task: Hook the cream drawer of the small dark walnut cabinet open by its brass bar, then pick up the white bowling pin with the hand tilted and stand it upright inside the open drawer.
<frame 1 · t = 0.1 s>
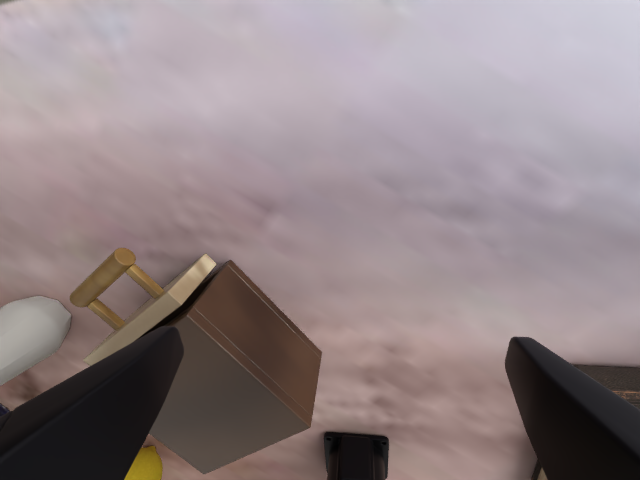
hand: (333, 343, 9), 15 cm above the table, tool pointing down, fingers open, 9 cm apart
white bowling pin: (53, 312, 30), on the table
lemon: (154, 444, 38), on the table
cabinet: (233, 337, 29), on the table
drawer: (177, 333, 24), point 4 cm above the table, slide at 0.5 cm
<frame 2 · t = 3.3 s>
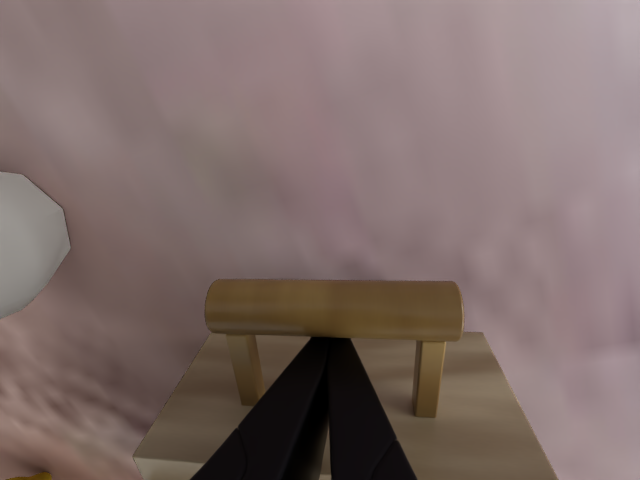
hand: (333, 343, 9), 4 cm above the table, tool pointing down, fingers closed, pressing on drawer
white bowling pin: (28, 219, 13), on the table
lemon: (51, 470, 22), on the table
drawer: (340, 448, 11), point 4 cm above the table, slide at 0.9 cm, touching gripper
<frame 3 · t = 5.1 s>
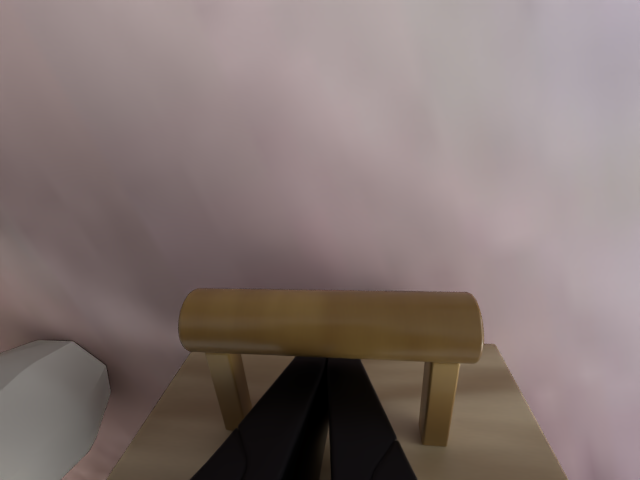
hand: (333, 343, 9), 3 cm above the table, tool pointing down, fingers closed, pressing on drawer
white bowling pin: (75, 368, 15), on the table
drawer: (338, 473, 10), point 4 cm above the table, slide at 8.7 cm, touching gripper
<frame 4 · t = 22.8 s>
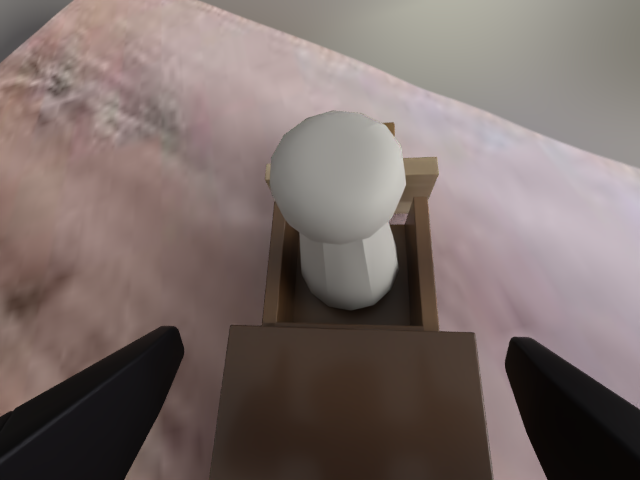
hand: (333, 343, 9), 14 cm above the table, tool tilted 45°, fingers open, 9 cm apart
white bowling pin: (350, 272, 21), point 2 cm above the table, touching drawer
cabinet: (350, 435, 19), on the table
drawer: (350, 225, 21), point 4 cm above the table, slide at 8.8 cm, touching white bowling pin
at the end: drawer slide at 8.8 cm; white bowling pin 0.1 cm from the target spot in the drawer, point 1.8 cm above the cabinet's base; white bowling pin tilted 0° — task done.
